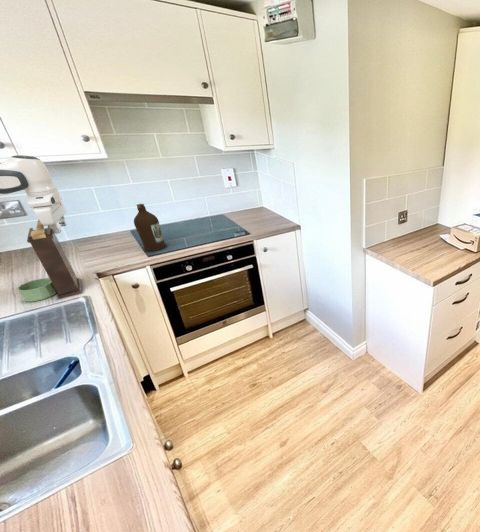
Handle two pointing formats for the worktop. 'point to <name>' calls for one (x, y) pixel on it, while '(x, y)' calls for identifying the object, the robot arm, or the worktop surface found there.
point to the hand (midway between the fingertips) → (61, 229)
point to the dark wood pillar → (55, 264)
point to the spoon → (39, 231)
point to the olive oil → (149, 229)
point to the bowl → (37, 289)
